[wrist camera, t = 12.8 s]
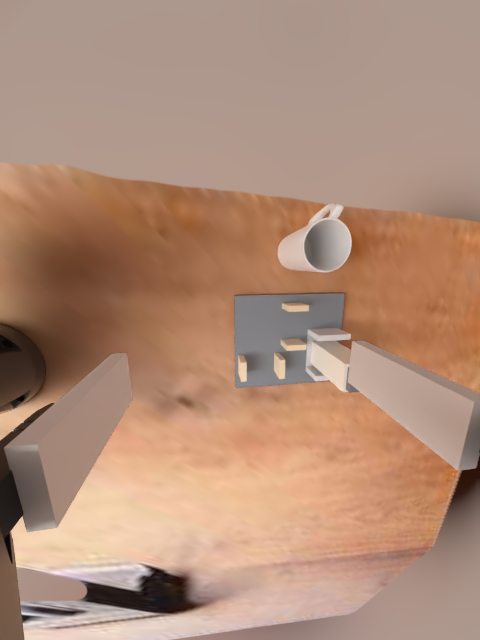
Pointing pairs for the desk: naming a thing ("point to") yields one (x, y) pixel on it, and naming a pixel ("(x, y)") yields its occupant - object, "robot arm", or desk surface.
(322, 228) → the mug
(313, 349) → the block
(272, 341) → the board
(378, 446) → the desk surface
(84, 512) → the desk surface
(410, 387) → the robot arm
